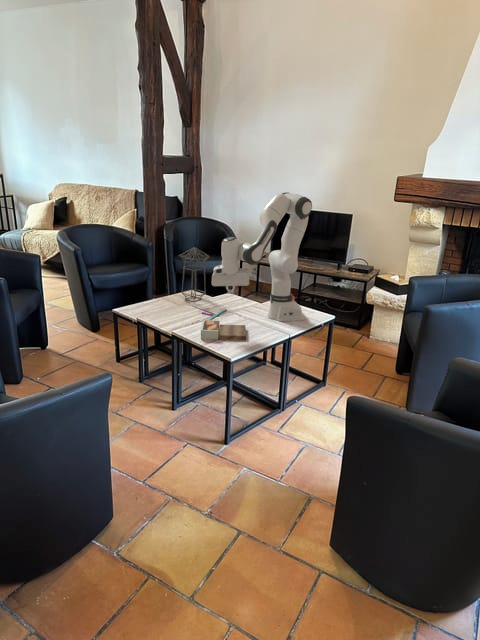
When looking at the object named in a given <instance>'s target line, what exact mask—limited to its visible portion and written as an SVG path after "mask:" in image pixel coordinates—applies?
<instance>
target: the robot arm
mask: <svg viewBox="0 0 480 640" xmlns="http://www.w3.org/2000/svg"><path fill="white" fill-rule="evenodd" d="M312 209H313V204H312V201H311V199H310V198H308V197H306V196H303V195H301V194H298V193H290V192H288V191H287V192H282V193H277V194H276V195H274V196H273V197H272V198H271V199H270V200H269V201H268V202H267V204H266V205H265V206H264V207H263V209H262V211H261V212H260V214H259V219H258V220H259V222H260V224H261V226H262V231H261V233H260V234H259V236H258V237H257V238H256V241H255V242H253V243H252V244H251V243H248V242H246V241H242V240H240V239H239V238H237V237H235V236H228V237H226V238H224V239H222V241H221V248H220V249H221V252H220V253H221V264H220V265H216V266H214V268H213V273H212V275H211V285H212V286H213V287H225V289H226V290H227V294H228V295H234V291H235V289H236V287H243V286H246V287H247V286H249V285H250V278H249V277H250V275H251V272H250V269H248V268H239V261H242V262H245V263H247V264H248V265H250V266H255V265H258V264H259V263H260V262H261V261H262V260H263V257H264V254H265V250H266V249H267V247H268V246H269V244H270V243H271V241H272V239H273V237H274V236H275V233H277V229H278V225H279V223H280V222H281V221H282V219H283V218H284V216H285V215H286V214H289V219H288V221H287V223H286V225H285V228H284V231H283V234H282V236H281V239H280V240H281V248H280V249H276V250H272V251H271V252H270V253H269V255H268V256H267V257H268V259H267V260H268V262H269V267H270V274H271V292H270V297H269V299H270V300H269V302H270V306H269V311H268V313H267V317H268V318H270V319H271V320H276V321H278V322H297V321H300V322H301V321H305V319H306V315H305V313H303V312H302V311H303V310H302V307H301V305H300V304H298V303H297V302H296V301H295V299H296V298H295V295H293V294H292V293H291V288H292V287H291V286H292V285H291V283H292V280H291V277H290V275H291V274H293V273H295V272H296V271H297V270H298V267H299V261H298V255H299V249H300V245H301V242H302V240H303V238H304V236H305V232H306V230H307V226H308V223H309V215H310V214H311V212H312ZM229 287H232V289H229Z"/></svg>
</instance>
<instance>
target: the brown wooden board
mask: <svg viewBox="0 0 480 640" xmlns="http://www.w3.org/2000/svg"><path fill="white" fill-rule="evenodd" d="M246 328H247V327H246V325H245V324H220V327H219V337H218V340H220V341H246V340H247V339H246V338H247V333H246V332H247V331H246Z"/></svg>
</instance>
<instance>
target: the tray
mask: <svg viewBox="0 0 480 640" xmlns="http://www.w3.org/2000/svg"><path fill="white" fill-rule="evenodd" d="M207 321H214V325H215V324H217V326H218V328H219V329H220V325H221V324H220V321H221V320H219V319H216V320H215V319H211V320H209V319H202V324H201V326H200V327H201V328H200V340H206V341H207V340H212V341H213V340H214V341H215V340H216V341H218V340H219V334H218V330H207Z"/></svg>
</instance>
